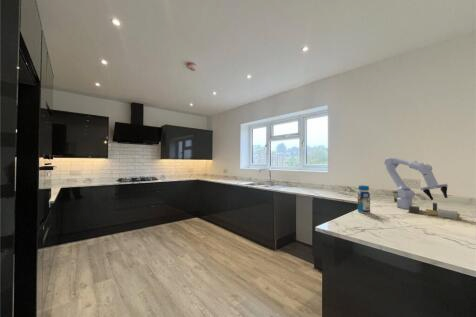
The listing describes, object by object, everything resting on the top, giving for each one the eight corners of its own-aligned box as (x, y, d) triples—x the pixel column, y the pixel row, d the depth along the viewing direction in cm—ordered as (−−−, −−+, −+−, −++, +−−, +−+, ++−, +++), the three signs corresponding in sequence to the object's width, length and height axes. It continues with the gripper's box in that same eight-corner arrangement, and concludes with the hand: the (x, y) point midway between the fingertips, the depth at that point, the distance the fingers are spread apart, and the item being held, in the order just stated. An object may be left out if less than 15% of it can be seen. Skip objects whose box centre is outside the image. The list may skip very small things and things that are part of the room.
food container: (407, 201, 192) (407, 191, 193) (409, 203, 187) (409, 192, 187) (391, 200, 199) (391, 190, 199) (392, 201, 193) (392, 191, 194)
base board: (406, 214, 147) (406, 212, 147) (409, 211, 155) (409, 210, 155) (460, 222, 128) (460, 220, 128) (460, 218, 136) (460, 217, 136)
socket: (409, 212, 148) (409, 206, 148) (410, 211, 153) (410, 205, 153) (418, 213, 145) (418, 207, 145) (419, 212, 149) (419, 206, 149)
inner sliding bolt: (425, 213, 143) (425, 202, 143) (426, 212, 145) (426, 201, 145) (459, 218, 131) (459, 206, 131) (459, 217, 133) (459, 205, 133)
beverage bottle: (358, 210, 160) (358, 185, 160) (371, 211, 155) (370, 185, 155) (356, 212, 153) (356, 186, 154) (369, 214, 148) (369, 186, 148)
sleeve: (437, 216, 138) (437, 210, 138) (438, 215, 141) (438, 209, 141) (457, 219, 131) (457, 212, 131) (457, 218, 134) (457, 211, 134)
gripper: (419, 181, 146) (427, 199, 141) (445, 176, 140) (455, 196, 135) (417, 183, 152) (425, 201, 147) (441, 178, 146) (451, 197, 141)
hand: (439, 198), depth 141 cm, fingers open, 7 cm apart
